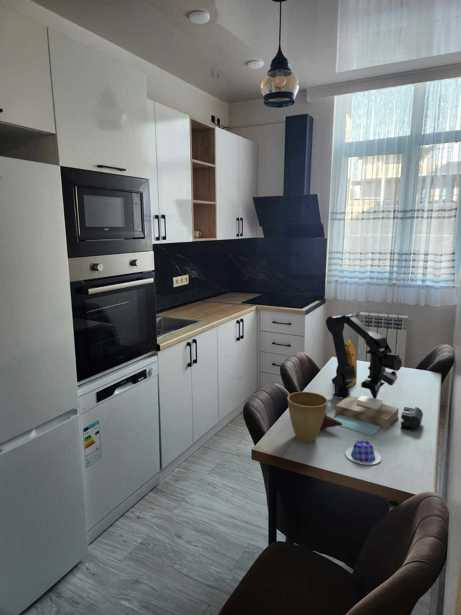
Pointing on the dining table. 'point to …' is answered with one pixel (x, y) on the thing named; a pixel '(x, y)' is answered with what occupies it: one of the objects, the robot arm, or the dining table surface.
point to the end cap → (411, 419)
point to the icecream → (329, 423)
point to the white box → (369, 402)
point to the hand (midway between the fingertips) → (374, 398)
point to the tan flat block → (367, 412)
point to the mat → (357, 425)
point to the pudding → (363, 453)
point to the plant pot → (306, 414)
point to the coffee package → (351, 359)
